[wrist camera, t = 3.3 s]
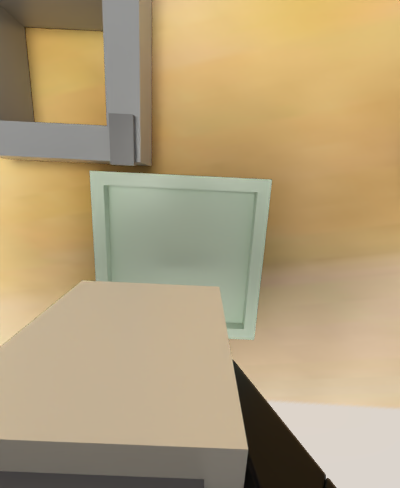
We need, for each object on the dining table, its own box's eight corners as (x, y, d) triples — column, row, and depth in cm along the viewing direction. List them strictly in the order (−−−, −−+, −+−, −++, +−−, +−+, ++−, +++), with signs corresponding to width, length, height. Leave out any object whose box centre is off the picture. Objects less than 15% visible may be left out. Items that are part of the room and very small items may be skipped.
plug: (219, 286, 8) (299, 747, 1) (211, 399, 9) (238, 962, 2) (82, 280, 8) (-463, 721, 1) (89, 394, 9) (-205, 951, 2)
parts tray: (266, 179, 16) (272, 179, 15) (250, 330, 19) (254, 339, 18) (97, 171, 16) (89, 170, 15) (105, 323, 19) (98, 332, 18)
